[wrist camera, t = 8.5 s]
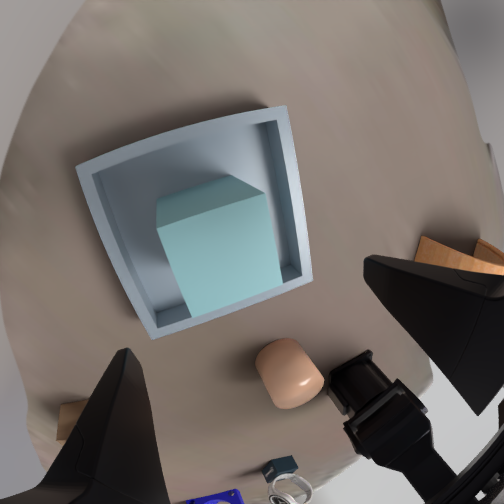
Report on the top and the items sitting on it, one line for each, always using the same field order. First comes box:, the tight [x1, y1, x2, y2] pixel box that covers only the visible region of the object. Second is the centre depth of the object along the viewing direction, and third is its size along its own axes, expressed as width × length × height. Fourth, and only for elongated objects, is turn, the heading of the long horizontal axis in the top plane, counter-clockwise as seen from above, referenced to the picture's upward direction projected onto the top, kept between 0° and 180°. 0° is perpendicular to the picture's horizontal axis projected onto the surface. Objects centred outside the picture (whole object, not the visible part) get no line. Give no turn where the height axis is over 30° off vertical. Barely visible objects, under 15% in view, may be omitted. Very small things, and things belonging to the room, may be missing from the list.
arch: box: [414, 236, 504, 275], centre depth 27 cm, size 6×20×10 cm, turn 82°
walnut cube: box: [56, 399, 89, 445], centre depth 20 cm, size 5×5×5 cm
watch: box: [262, 455, 313, 504], centre depth 36 cm, size 6×8×11 cm
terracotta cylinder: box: [255, 338, 324, 409], centre depth 24 cm, size 5×5×5 cm
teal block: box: [156, 175, 283, 318], centre depth 15 cm, size 5×5×6 cm
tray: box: [75, 105, 313, 340], centre depth 17 cm, size 13×13×2 cm
